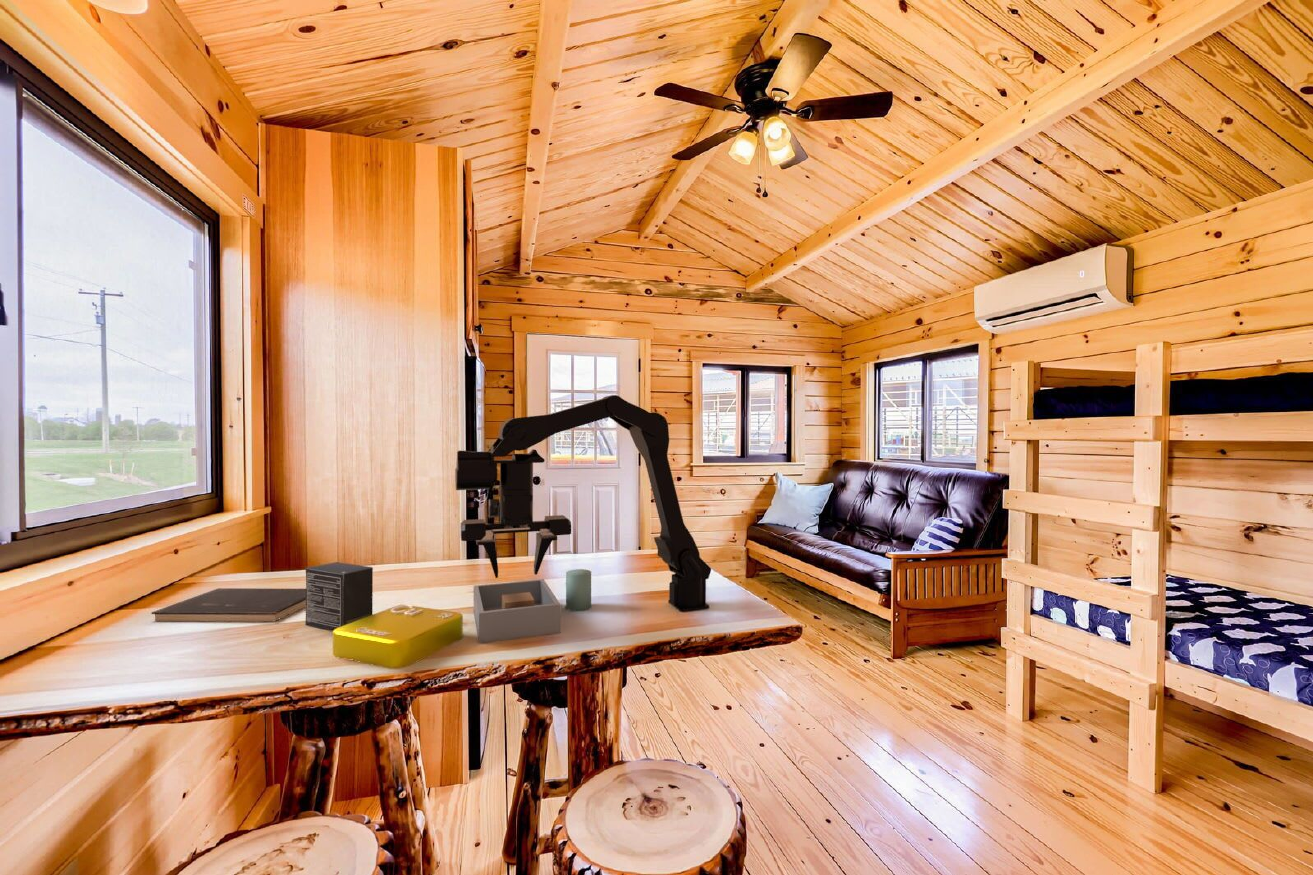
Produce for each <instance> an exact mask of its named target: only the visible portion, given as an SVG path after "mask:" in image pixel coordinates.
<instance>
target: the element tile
mask: <svg viewBox="0 0 1313 875" xmlns="http://www.w3.org/2000/svg"><path fill="white" fill-rule="evenodd" d="M463 618H464V617H463V614H462V613H461V612H457V611H452V610H451V611H450V610H443V609H436V608H429V607H422V606H415V605H410V604H399V605H395V606H392V607H390V608H387V609H385V610H382V611H379V612H377V613H372V615H371V616H368V617H365V618H363V619H360V620H357V621H354V622H352V623H349V624H346V625H344V626H341V627H338V628H336V629H335V630H334V631H332V656H333V655H334V656H335V657H334V656H333V657H334V658H337V657H340V658H339V659H341V658H346V659H353V660H356V661H360V662H359V663H361V662H363V663H362V664H366V663H367V664H368V665H371V664H373V665H372V666H376V667H381V666H382V668H386V669H401V668H406V667H409V666H411V665H413V664H415V663H416V661H417V662H419V661H421V660H423V659H424V658H427V657H429V656H430V655H433V654H434V653H437V652H439V651H440V650H442V649H444V648H446V647H448V646H450V645H452V644H454V643H456V642H458V641H460V640H461V639H462V638H463V636H464V633H463V632H464V631H463V626H464V625H463V624H464V623H463V622H464V620H463ZM346 659H345V660H346ZM356 661H355V662H356Z"/></svg>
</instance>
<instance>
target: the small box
mask: <svg viewBox="0 0 1313 875" xmlns="http://www.w3.org/2000/svg"><path fill="white" fill-rule="evenodd" d="M373 570H374V569H373V566H366V565H359V564H352V563H345V562H337V561H335V562H330V563H325V564H320V565H314V566H309V567H306V568H305V589H306V607H305V625H306V626H310V627H313V628H319V629H324V630H328V631H332V632H333V631H334V630H335V629H336V628H338V627H341V626H344V625H346V624H349V623H352V622H354V621H357V620H360V619H363V618H365V617H368V616H371V615H373V595H374V594H373V593H374V592H373V591H374V590H373V589H374V588H373V587H374V586H373V584H374V583H373V579H374V578H373V575H374V574H373Z"/></svg>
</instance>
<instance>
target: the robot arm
mask: <svg viewBox="0 0 1313 875" xmlns="http://www.w3.org/2000/svg"><path fill="white" fill-rule="evenodd" d="M607 418H610V419H611V420H612V421H614V422H615V423H616V424H617V425H619V426H620V427H622V428H624V429H625V430H627V431H628V432H629V434H630V436H631V439H632V441H633V444H634V445H635V447H636V449H637V450H638V452H639V453H640V455H641V456H642V458H643V460H644V462H645V467H646V471H647V475H648V479H649V483H650V487H651V492H652V495H653V500H654V503H655V506H656V512H657V514H658V519H659V523H660V532H659V534H660V535H659V536H654V537H653V539H654V543H655V545H656V547H657V557H659V558H661V560H662V561H663V562H664V563H665V564H667V566H668V569H669V572H672V573H673V574H671V581H670V582H669V586H668V587H669V589H668V590H669V596H668V597H669V598H668V602H667V603H669V604H670V605H671V606H673V607H674V609H676V610H677V611H679V612H686V611H687V612H688V611H694V610H704V609H709V608H710V605H709V603H707V592H706V591H707V589H706V588H707V580H708V579H709V578H710V575H711V572H712V567H710V566H709V564H708V563H706V562H705V561H704V560H703V559H702V558H701V556H700V550H699V548H698V546H697V544H696V543H697V542H695V539H694V538H693V536H692V534H691V532H690V531H689V529H688V528H687V526H686V524H685V522H684V518H683V514H682V510H681V506H680V502H679V499H678V494H677V491H676V490H677V489H676V486H675V482H674V479H673V474H672V470H671V466H670V461H669V457H668V451H669V444H670V432H669V423H668V420H667V419H666V417H665V416H663V415H662V414H661V413H659V412H655V411H654V412H653V411H652V412H649V411H647V410H646V409H644V408H642V407H639V406H638V405H635V404H633V403H631V402H629V401H627V400H625V399H623V398H622V397H621V396H619V395H616V394H613V395H612V394H611V395H605V396H604V397H603V398H600V399H597V400H592V401H589V402H587V403H583V404H579V405H576V406H572V407H569V408H567V409H562V410H559V411H556V412H552V413H547V414H542V415H533V416H532V415H529V416H524V417H523V416H522V417H513V418H509V419H506V420H505V421H503V422H502V424H501V425H500V427H499V428H498V437H497V438H496V440H495V441H494V442H493V444H492V445H490V447H489V449H488V450H487V451H470V450H457V451H456V468H454V477H455V478H454V482H455V484H454V486H455V491H476V490H491V488H492V487H491V486H492V485H495V484H497V483H498V482H497V481H498V464H499V498H493V499H488V510H487V511H488V518H492V519H493V518H497V521H498V522H496V523H494V522H493V523H486V522H485V519H484V518H481V519H479V518H478V519H476V518H475V519H463V520H462V522H460V540H461V542H462V541H463V542H471V541H473V542H474V541H475V542H476V545H477V546H482V547H483V548H484V549H485V553H486V554H487V556H488V558H489V562H490V564H491V568H492V571H493V574H494V576H495V579H498V578H499V566H498V564H499V563H498V558H497V548H496V541H495V539H494V535H497V534H498V535H499V534H513V533H515V534H517V533H518V534H519V533H530V532H531V533H532V532H535V535H536V538H535V539H536V540H535V553H534V562H533V574H534V575H536V576H537V575H538V573H539V571H540V568H541V565H542V564H543V560H544V557H545V555H546V553H547V551H548V549H549V547H550V546H551V544H552V542H553V541H557V540H558V536H568V535H569V536H570V535H572V522H571V520H570V519H569V518H568V517H566V516H565V515H559V514H557V515H545V516H544V519H543V520H534V463H536V464H538V463H539V464H542V463H543V464H544V462H545V461H546V460H545V458H543V457H542V455H540V454H539V452H538V451H537V450H536V449H533V448H532V449H531V451H530V452H528V453H513V452H514V451H518V452H520V451H525V450H527V449H529V448H531V447H534V446H535V445H537V444H539V443H541V442H543V441H545V440H547V439H549V438H550V437H551V436H554V435H555V434H558V433H561V432H565V431H568V430H570V429H571V430H572V429H575V428H578V427H581V426H584V425H588V424H592V423H594V422H597V421H601V420H604V419H607ZM511 453H512V456H511V458H510V459H507V458H506V457H507V456H508V455H509V454H511ZM499 457H500V458H503V457H505V458H506V459H504V458H503V459H495V458H499Z"/></svg>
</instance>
